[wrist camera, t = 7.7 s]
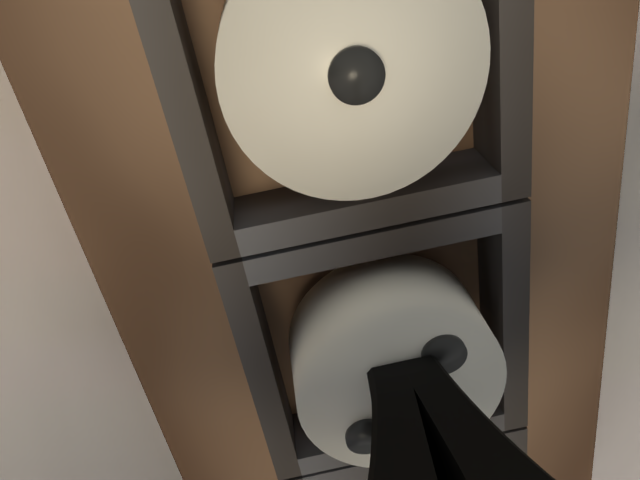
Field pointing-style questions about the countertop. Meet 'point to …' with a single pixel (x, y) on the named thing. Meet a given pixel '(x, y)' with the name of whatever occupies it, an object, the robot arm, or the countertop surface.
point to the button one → (350, 88)
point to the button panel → (329, 220)
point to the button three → (384, 345)
